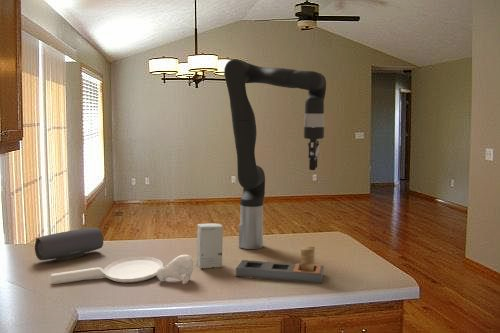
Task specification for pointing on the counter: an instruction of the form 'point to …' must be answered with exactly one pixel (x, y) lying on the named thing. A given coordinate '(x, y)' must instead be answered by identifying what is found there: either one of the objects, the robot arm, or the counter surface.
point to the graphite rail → (279, 271)
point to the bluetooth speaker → (68, 244)
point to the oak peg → (307, 258)
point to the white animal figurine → (177, 269)
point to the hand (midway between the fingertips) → (313, 168)
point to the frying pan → (115, 271)
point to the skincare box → (209, 245)
